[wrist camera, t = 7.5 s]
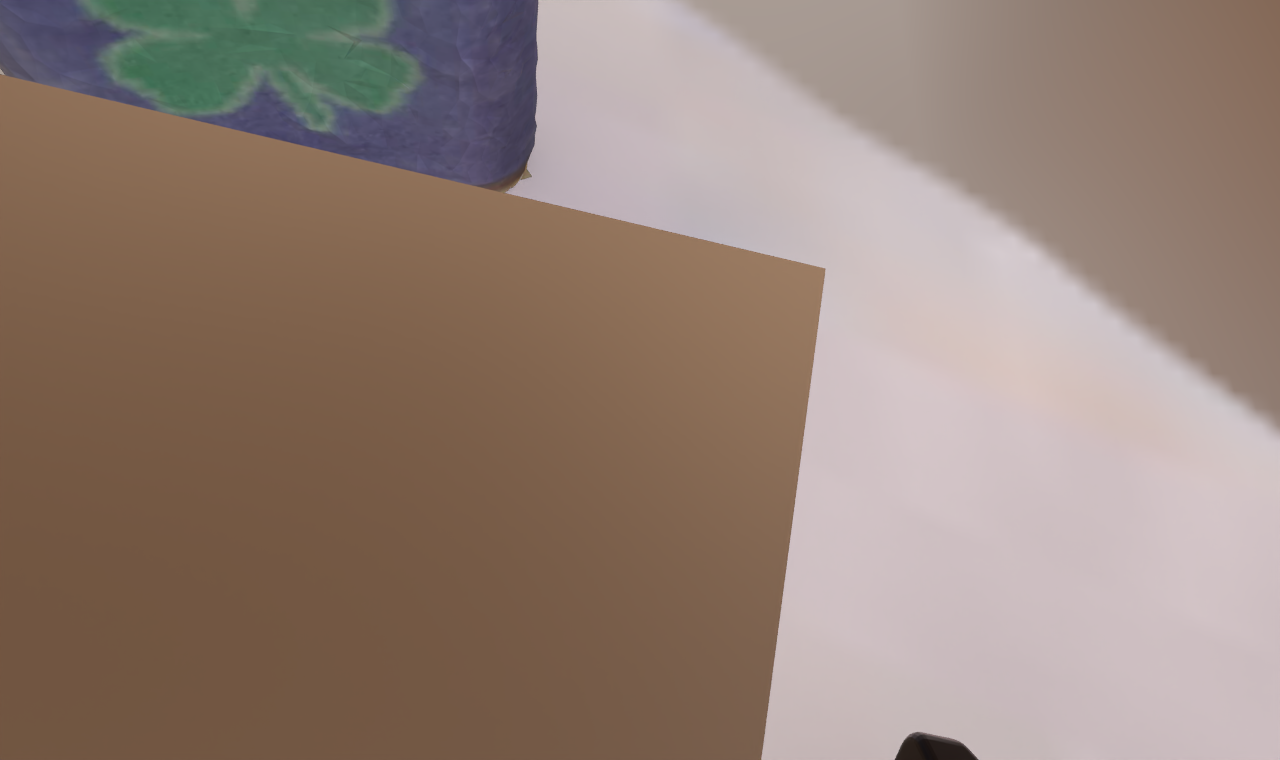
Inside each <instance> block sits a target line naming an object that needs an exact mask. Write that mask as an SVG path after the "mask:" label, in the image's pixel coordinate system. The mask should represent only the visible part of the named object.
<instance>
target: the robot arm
mask: <svg viewBox="0 0 1280 760" xmlns="http://www.w3.org/2000/svg"><path fill="white" fill-rule="evenodd" d="M895 760H978V759H977V757H976V756H975V755H974V754H973V753H972V752H971V751H970V750H969V749H968V748H967V747H966V746H965V745H964V744H963V743H961V742H959V741H957V740H954V739H951V738H946V737H941V736H936V735H932V734H927V733H922V732H915V733H912V734H910V735H909V736H908V737H907V738H906V739H905V740H904V742H903V743H902V745H901V747H900V749H899V752H898V754H897V756H896V758H895Z"/></svg>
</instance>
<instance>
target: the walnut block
mask: <svg viewBox="0 0 1280 760" xmlns="http://www.w3.org/2000/svg"><path fill="white" fill-rule="evenodd" d="M824 276H825V268H821V267H816V266H812V265H808V264H804V263H799V262H795V261H791V260H787V259H782V258H778V257H774V256H770V255H765V254H761V253H757V252H753V251H748V250H744V249H740V248H736V247H731V246H727V245H723V244H719V243H714V242H710V241H706V240H702V239H697V238H693V237H689V236H685V235H680V234H676V233H672V232H668V231H663V230H659V229H655V228H651V227H646V226H642V225H638V224H634V223H629V222H625V221H621V220H617V219H612V218H608V217H604V216H600V215H595V214H591V213H587V212H583V211H578V210H574V209H570V208H566V207H561V206H557V205H553V204H549V203H544V202H540V201H536V200H532V199H527V198H523V197H519V196H515V195H510V194H506V193H502V192H498V191H494V190H489V189H485V188H481V187H477V186H472V185H468V184H464V183H460V182H455V181H451V180H447V179H443V178H438V177H434V176H430V175H426V174H421V173H417V172H413V171H409V170H404V169H400V168H396V167H392V166H387V165H383V164H379V163H375V162H370V161H366V160H362V159H358V158H353V157H349V156H345V155H341V154H336V153H332V152H328V151H324V150H319V149H315V148H311V147H307V146H302V145H298V144H294V143H290V142H285V141H281V140H277V139H273V138H268V137H264V136H260V135H256V134H251V133H247V132H243V131H239V130H234V129H230V128H226V127H222V126H217V125H213V124H209V123H205V122H200V121H196V120H192V119H188V118H183V117H179V116H175V115H171V114H167V113H162V112H158V111H154V110H150V109H145V108H141V107H137V106H133V105H128V104H124V103H120V102H116V101H111V100H107V99H103V98H99V97H94V96H90V95H86V94H82V93H77V92H73V91H69V90H65V89H60V88H56V87H52V86H48V85H43V84H39V83H35V82H31V81H26V80H22V79H18V78H14V77H9V76H5V75H1V74H0V760H761V757H762V749H763V741H764V734H765V726H766V718H767V711H768V703H769V696H770V688H771V680H772V673H773V665H774V657H775V650H776V642H777V635H778V627H779V619H780V612H781V604H782V596H783V589H784V581H785V574H786V566H787V558H788V551H789V543H790V535H791V528H792V520H793V512H794V505H795V497H796V490H797V482H798V474H799V467H800V459H801V451H802V444H803V436H804V429H805V421H806V413H807V406H808V398H809V390H810V383H811V375H812V368H813V360H814V352H815V345H816V337H817V329H818V322H819V314H820V307H821V299H822V291H823V284H824Z"/></svg>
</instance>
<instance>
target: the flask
mask: <svg viewBox="0 0 1280 760" xmlns="http://www.w3.org/2000/svg"><path fill="white" fill-rule="evenodd" d="M537 15H538V0H0V69H1V70H2V71H3V72H4V74H5V75H6V76H9V77H14V78H18V79H22V80H26V81H31V82H35V83H39V84H43V85H48V86H52V87H56V88H60V89H65V90H69V91H73V92H77V93H82V94H86V95H90V96H94V97H99V98H103V99H107V100H111V101H116V102H120V103H124V104H128V105H133V106H137V107H141V108H145V109H150V110H154V111H158V112H162V113H167V114H171V115H175V116H179V117H183V118H188V119H192V120H196V121H200V122H205V123H209V124H213V125H217V126H222V127H226V128H230V129H234V130H239V131H243V132H247V133H251V134H256V135H260V136H264V137H268V138H273V139H277V140H281V141H285V142H290V143H294V144H298V145H302V146H307V147H311V148H315V149H319V150H324V151H328V152H332V153H336V154H341V155H345V156H349V157H353V158H358V159H362V160H366V161H370V162H375V163H379V164H383V165H387V166H392V167H396V168H400V169H404V170H409V171H413V172H417V173H421V174H426V175H430V176H434V177H438V178H443V179H447V180H451V181H455V182H460V183H464V184H468V185H472V186H477V187H481V188H485V189H489V190H494V191H498V192H502V193H505V192H506V191H508V190H509V188H510V187H511V188H512V187H514V186H515V185H516V184H517V182H518V181H519V180H522V179H526V178H529V177H532V176H531V174H530V173H529V172H528V170H527V161H528V159H529V157H530V154H531V152H532V149H533V147H534V142H535V132H536V127H537V125H536V121H535V113H536V104H537V87H536V66H537V60H538V54H537V41H536V30H537Z"/></svg>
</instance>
